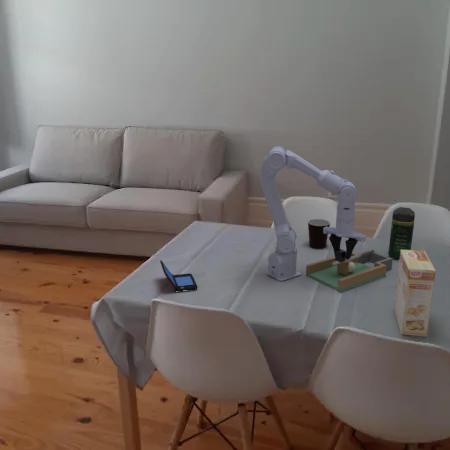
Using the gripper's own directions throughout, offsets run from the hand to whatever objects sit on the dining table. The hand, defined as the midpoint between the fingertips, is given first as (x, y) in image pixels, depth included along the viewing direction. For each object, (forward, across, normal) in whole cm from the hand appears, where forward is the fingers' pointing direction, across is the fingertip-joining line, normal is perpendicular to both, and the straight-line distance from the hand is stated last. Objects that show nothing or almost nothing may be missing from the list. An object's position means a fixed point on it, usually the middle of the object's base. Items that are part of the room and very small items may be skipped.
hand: (342, 257), depth 174 cm
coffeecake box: (+8, +30, -16) cm, 35 cm away
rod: (+6, +1, +5) cm, 8 cm away
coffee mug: (+8, -22, +23) cm, 33 cm away
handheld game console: (+8, -40, -39) cm, 56 cm away
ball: (+4, +1, +4) cm, 6 cm away
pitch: (+8, +1, +6) cm, 9 cm away
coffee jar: (+8, +8, +31) cm, 33 cm away
